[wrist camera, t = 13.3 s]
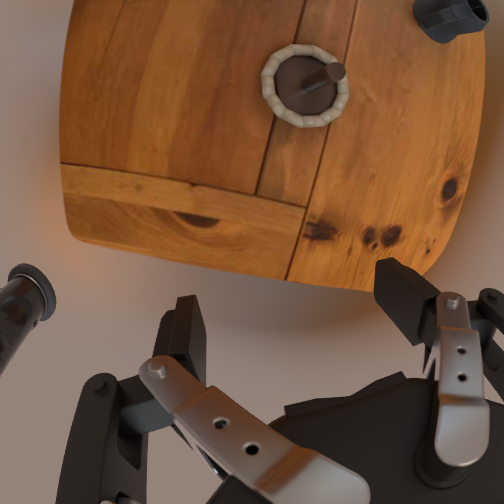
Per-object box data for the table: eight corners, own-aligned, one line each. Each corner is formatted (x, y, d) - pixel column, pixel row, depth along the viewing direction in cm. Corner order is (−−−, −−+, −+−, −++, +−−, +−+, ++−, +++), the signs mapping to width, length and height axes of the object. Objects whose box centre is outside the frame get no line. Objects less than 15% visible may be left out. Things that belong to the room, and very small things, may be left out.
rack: (279, 117, 33) (301, 111, 23) (271, 59, 29) (290, 33, 20) (338, 114, 33) (377, 110, 24) (331, 58, 30) (366, 38, 20)
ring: (265, 130, 32) (267, 130, 31) (255, 47, 28) (257, 43, 26) (349, 126, 33) (354, 126, 31) (340, 48, 28) (344, 45, 27)
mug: (432, -5, 24) (472, -21, 14) (459, 37, 27) (502, 30, 17) (392, 5, 26) (435, -17, 16) (424, 53, 29) (472, 43, 19)
